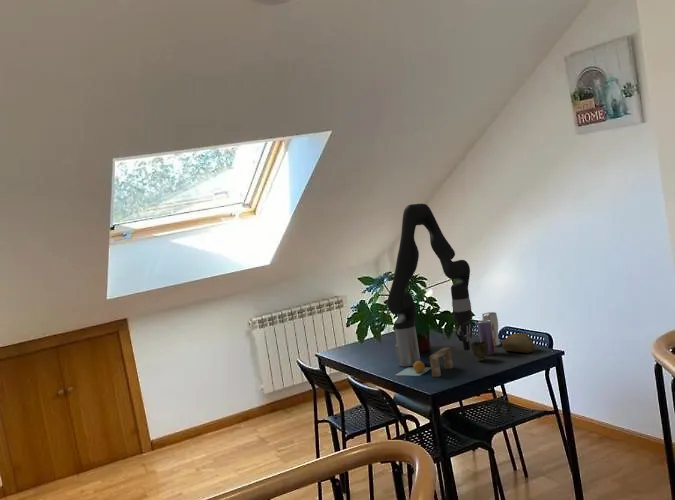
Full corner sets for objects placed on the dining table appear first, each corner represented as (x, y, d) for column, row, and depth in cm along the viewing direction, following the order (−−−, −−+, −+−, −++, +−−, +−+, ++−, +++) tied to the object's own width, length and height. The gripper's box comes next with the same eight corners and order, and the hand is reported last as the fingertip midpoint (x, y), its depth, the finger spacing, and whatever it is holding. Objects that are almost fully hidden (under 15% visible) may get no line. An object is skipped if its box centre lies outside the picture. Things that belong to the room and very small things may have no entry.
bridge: (432, 376, 303) (429, 356, 303) (446, 367, 315) (443, 347, 314) (438, 376, 302) (435, 356, 301) (453, 367, 313) (450, 347, 313)
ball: (414, 360, 311) (424, 367, 309) (419, 357, 315) (428, 364, 314) (409, 369, 313) (418, 376, 311) (414, 366, 317) (423, 373, 315)
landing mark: (395, 375, 315) (395, 375, 315) (408, 367, 324) (408, 367, 324) (419, 375, 308) (419, 375, 308) (432, 367, 318) (432, 367, 318)
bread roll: (510, 348, 332) (507, 331, 331) (539, 349, 321) (537, 331, 321) (498, 353, 325) (496, 336, 324) (528, 355, 314) (526, 337, 314)
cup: (479, 357, 323) (476, 340, 322) (493, 358, 317) (490, 340, 317) (469, 362, 318) (466, 344, 317) (483, 363, 312) (481, 345, 312)
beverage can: (492, 355, 323) (487, 322, 322) (479, 355, 327) (475, 322, 325) (497, 352, 328) (493, 319, 327) (485, 352, 331) (480, 319, 330)
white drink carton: (502, 345, 339) (498, 313, 338) (487, 347, 339) (483, 316, 338) (499, 342, 346) (495, 311, 345) (484, 344, 346) (480, 313, 345)
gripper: (460, 305, 306) (465, 345, 308) (446, 312, 296) (452, 354, 297) (476, 305, 302) (481, 346, 304) (463, 312, 291) (469, 354, 293)
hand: (467, 350), depth 300 cm, fingers closed
